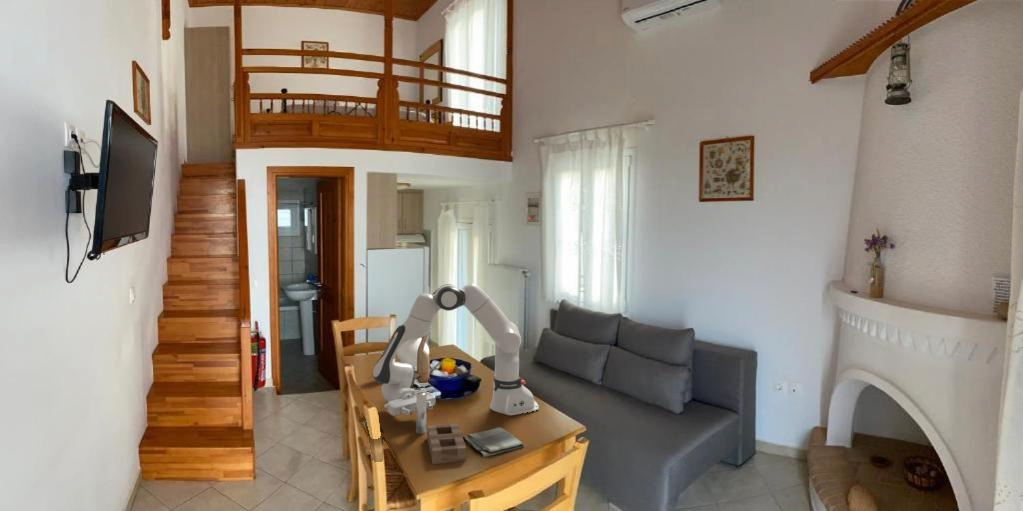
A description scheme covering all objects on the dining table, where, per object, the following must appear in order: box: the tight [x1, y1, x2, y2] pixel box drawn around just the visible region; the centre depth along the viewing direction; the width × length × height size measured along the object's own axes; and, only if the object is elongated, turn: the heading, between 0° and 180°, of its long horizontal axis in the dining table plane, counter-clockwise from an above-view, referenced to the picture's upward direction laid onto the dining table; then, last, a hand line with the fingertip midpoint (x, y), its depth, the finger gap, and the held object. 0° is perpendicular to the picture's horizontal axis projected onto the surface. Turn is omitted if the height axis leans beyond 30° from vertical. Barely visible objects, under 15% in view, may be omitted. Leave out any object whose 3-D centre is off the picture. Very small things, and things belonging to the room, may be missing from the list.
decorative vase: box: [396, 337, 430, 372], centre depth 275 cm, size 18×18×25 cm
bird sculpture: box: [411, 332, 431, 389], centre depth 243 cm, size 11×12×32 cm
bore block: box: [426, 423, 467, 465], centre depth 184 cm, size 20×12×5 cm, turn 15°
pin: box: [415, 392, 427, 435], centre depth 197 cm, size 4×4×16 cm
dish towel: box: [462, 426, 525, 458], centre depth 191 cm, size 19×18×3 cm
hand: (420, 410), depth 197 cm, fingers open, 8 cm apart
